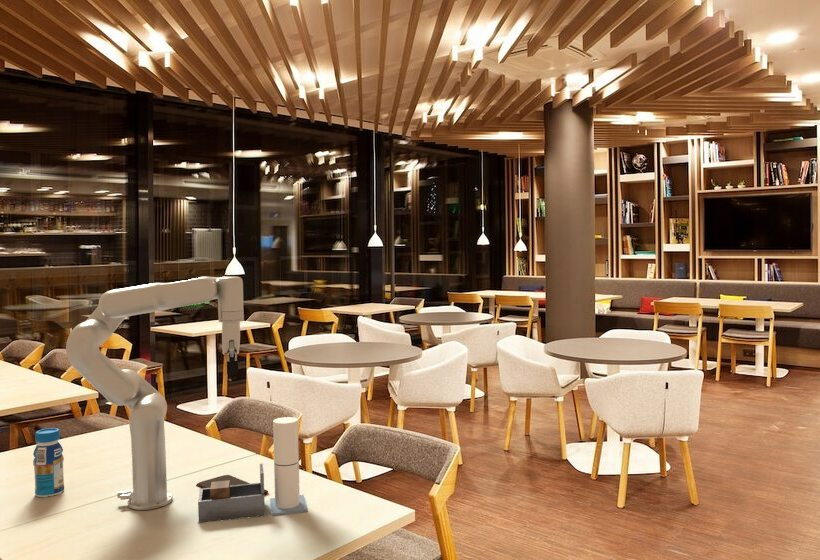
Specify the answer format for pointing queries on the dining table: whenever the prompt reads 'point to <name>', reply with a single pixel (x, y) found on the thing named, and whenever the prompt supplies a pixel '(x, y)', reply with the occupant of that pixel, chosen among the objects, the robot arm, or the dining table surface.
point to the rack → (233, 502)
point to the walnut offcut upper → (220, 489)
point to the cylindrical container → (286, 462)
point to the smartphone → (224, 478)
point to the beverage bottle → (48, 463)
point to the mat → (280, 511)
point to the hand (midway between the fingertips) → (232, 371)
